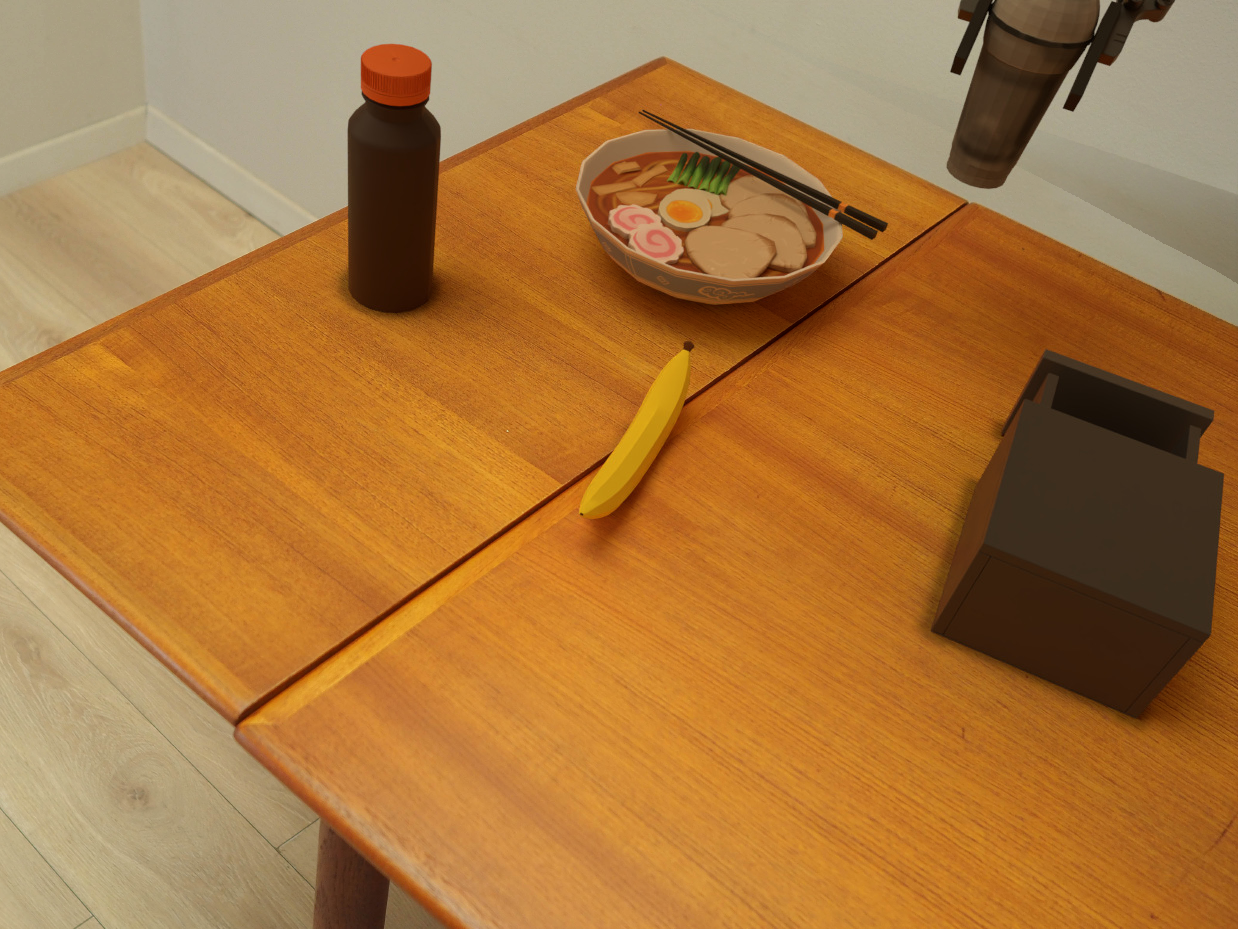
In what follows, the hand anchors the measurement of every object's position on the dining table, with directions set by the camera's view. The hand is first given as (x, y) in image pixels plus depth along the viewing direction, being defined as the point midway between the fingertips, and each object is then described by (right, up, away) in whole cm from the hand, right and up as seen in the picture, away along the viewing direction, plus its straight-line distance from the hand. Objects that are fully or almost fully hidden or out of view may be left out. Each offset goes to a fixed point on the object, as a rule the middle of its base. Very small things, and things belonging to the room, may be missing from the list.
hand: (1014, 83), depth 80 cm
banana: (-26, -27, +5) cm, 38 cm away
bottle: (-45, -11, +16) cm, 49 cm away
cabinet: (+3, -35, +2) cm, 35 cm away
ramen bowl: (-19, -8, +24) cm, 31 cm away
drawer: (+7, -28, +8) cm, 30 cm away
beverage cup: (0, -4, +9) cm, 9 cm away
